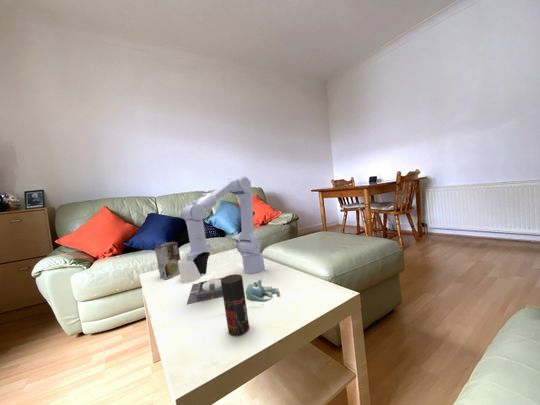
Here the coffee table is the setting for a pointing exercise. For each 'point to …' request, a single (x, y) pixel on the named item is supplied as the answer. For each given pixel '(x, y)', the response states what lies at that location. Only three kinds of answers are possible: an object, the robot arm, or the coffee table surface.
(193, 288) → the panel
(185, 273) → the mug
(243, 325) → the deodorant
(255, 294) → the stuffed animal
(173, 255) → the coffee box
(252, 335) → the coffee table surface
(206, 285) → the dial
